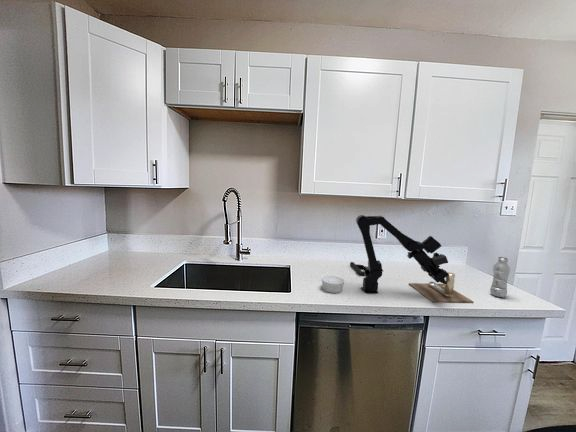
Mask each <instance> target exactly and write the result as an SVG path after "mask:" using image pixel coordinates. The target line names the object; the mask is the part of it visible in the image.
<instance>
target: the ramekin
mask: <svg viewBox="0 0 576 432" xmlns="http://www.w3.org/2000/svg"><path fill="white" fill-rule="evenodd" d="M321 282H322V288H323V290H324V291H325V292H327V293H331V294H338V293H340V292H342V291H343V288H344V284H345V280H344V279H343V278H342V277H339V276H335V275H326V276H323V277H322V278H321Z"/></svg>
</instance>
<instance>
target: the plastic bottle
mask: <svg viewBox="0 0 576 432" xmlns="http://www.w3.org/2000/svg"><path fill="white" fill-rule="evenodd" d="M508 263H509V258H507V257H503V256H498V258H497V262H495V264H493V267H492V273H493V274H492V275H493V278H492V283H491V285H490V288H489V292H490V294H491V295H493V296H494V297H496V298H503V299H504V298H506V297H507V295H508V289H507V288H508V280H509V275H510V272H511V268H510V266H509V264H508Z"/></svg>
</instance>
